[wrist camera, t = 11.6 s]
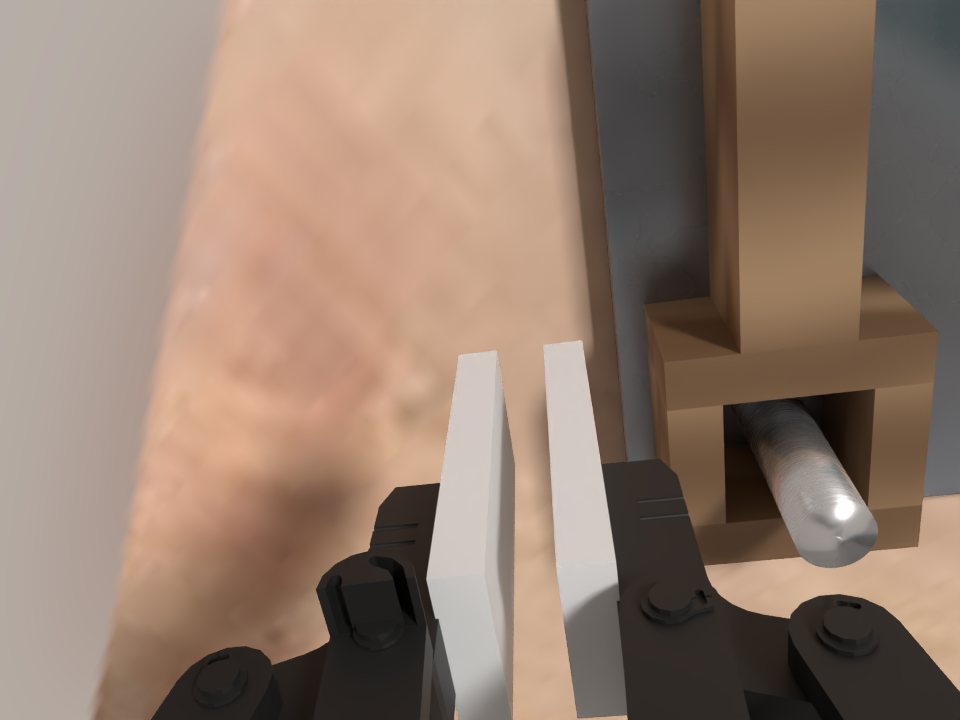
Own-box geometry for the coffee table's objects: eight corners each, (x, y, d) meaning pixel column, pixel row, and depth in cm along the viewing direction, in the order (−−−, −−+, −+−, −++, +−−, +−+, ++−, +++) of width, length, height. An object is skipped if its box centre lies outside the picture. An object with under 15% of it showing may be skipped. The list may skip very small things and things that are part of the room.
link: (868, 469, 28) (917, 546, 25) (657, 490, 29) (676, 567, 26) (907, -170, 20) (990, -193, 17) (614, -120, 21) (633, -131, 17)
